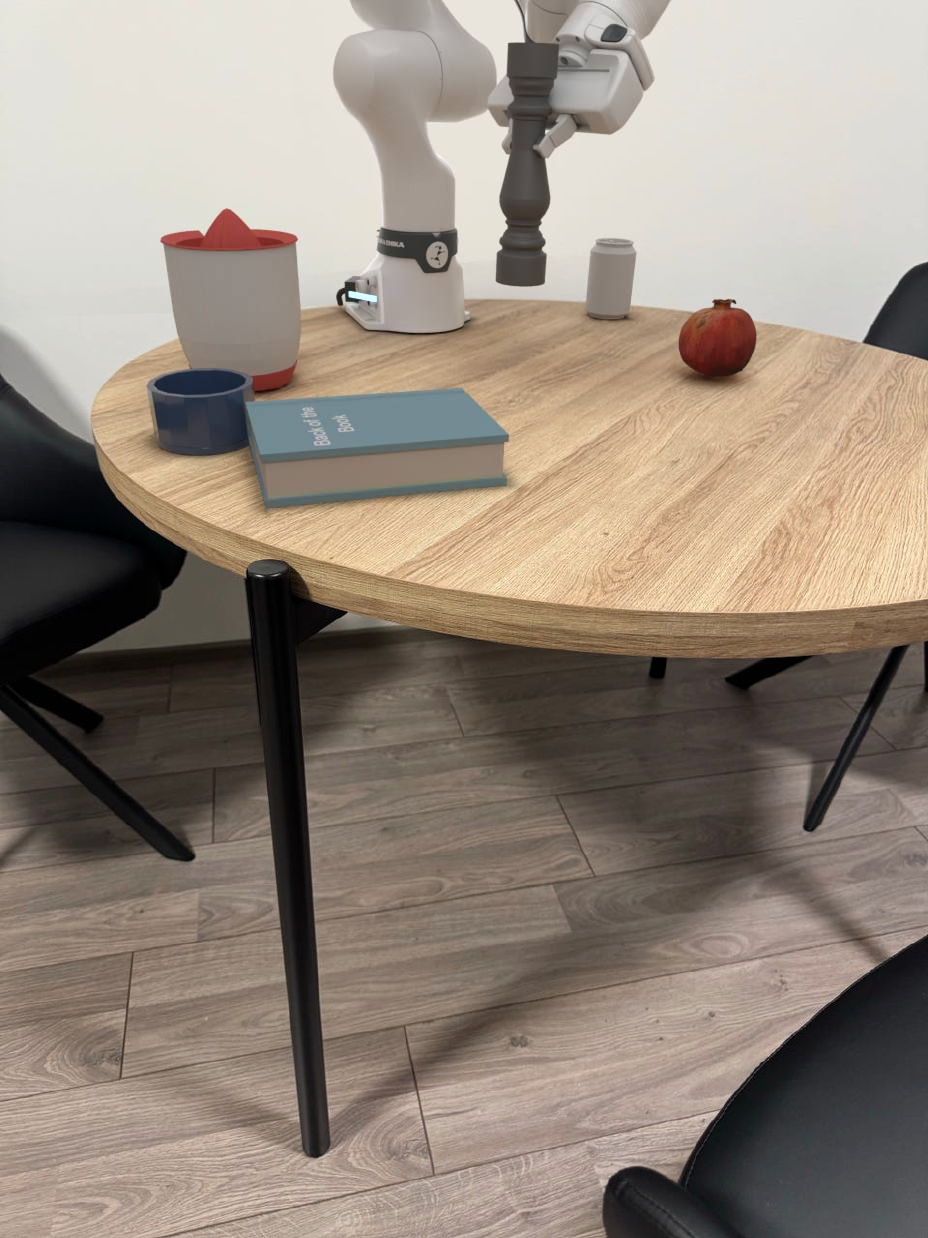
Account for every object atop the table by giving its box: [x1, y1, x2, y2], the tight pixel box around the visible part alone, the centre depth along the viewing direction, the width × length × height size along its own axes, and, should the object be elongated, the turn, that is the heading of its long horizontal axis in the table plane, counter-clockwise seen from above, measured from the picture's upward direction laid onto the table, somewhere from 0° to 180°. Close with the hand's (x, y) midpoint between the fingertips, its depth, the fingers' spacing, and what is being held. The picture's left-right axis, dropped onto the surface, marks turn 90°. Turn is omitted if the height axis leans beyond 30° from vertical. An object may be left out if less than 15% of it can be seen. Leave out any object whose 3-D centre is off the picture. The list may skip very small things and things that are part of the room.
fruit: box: [678, 298, 757, 378], centre depth 115 cm, size 11×10×10 cm
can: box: [584, 237, 637, 320], centre depth 146 cm, size 8×8×12 cm
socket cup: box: [146, 368, 256, 456], centre depth 91 cm, size 10×10×6 cm
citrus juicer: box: [159, 207, 302, 392], centre depth 106 cm, size 16×17×20 cm
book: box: [245, 387, 510, 509], centre depth 86 cm, size 23×16×5 cm
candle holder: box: [495, 41, 559, 288], centre depth 103 cm, size 6×6×25 cm
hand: (523, 152), depth 102 cm, fingers closed on candle holder, 4 cm apart
